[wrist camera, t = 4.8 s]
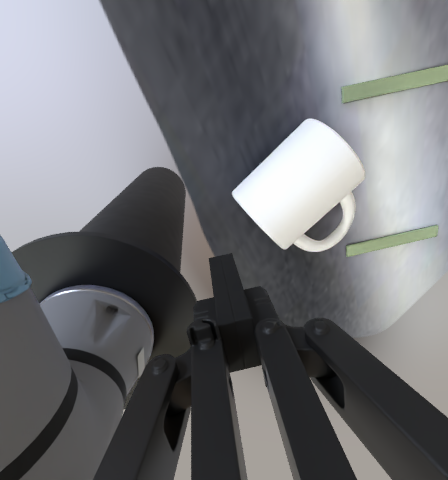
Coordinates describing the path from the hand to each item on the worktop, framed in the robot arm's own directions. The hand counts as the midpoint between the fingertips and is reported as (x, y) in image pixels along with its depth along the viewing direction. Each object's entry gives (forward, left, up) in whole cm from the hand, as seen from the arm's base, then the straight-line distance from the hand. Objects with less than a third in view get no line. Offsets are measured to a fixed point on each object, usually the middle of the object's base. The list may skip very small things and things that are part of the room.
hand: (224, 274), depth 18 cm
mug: (+10, 0, -15) cm, 18 cm away
